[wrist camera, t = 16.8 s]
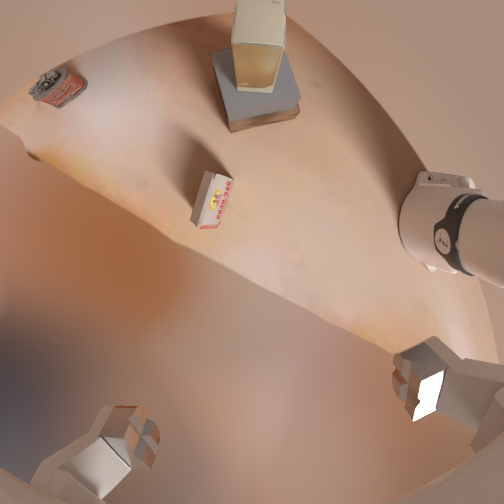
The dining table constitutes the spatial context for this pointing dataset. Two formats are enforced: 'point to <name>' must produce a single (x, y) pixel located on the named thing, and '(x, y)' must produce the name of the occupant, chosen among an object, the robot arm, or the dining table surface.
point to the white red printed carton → (211, 200)
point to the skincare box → (258, 43)
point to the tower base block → (259, 117)
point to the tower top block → (254, 102)
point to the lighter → (58, 87)
